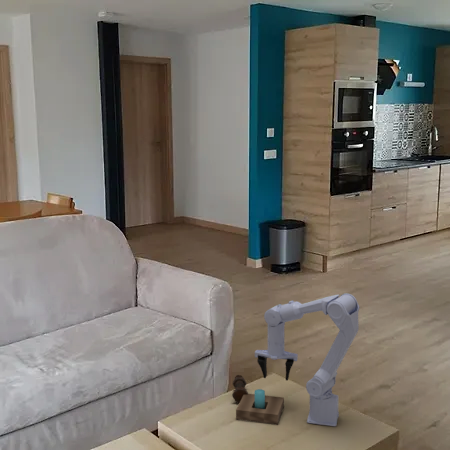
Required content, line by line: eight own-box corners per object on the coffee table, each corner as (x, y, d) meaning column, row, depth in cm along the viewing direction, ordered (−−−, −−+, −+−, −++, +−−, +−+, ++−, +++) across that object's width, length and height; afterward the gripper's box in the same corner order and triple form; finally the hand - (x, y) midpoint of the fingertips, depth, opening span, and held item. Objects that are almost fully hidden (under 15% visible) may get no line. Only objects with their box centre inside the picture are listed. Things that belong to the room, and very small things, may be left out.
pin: (265, 411, 201) (265, 389, 199) (264, 416, 198) (264, 394, 196) (255, 410, 201) (255, 388, 200) (254, 415, 198) (254, 393, 197)
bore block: (284, 406, 205) (284, 397, 204) (277, 424, 193) (277, 414, 193) (244, 402, 208) (244, 393, 208) (236, 419, 197) (236, 409, 196)
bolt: (241, 387, 222) (242, 406, 207) (229, 381, 222) (230, 399, 207) (248, 374, 221) (251, 392, 206) (237, 368, 221) (238, 386, 206)
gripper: (252, 343, 200) (252, 380, 203) (295, 347, 196) (295, 385, 199) (257, 335, 207) (257, 372, 209) (298, 339, 203) (298, 376, 205)
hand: (276, 378), depth 204 cm, fingers open, 7 cm apart
